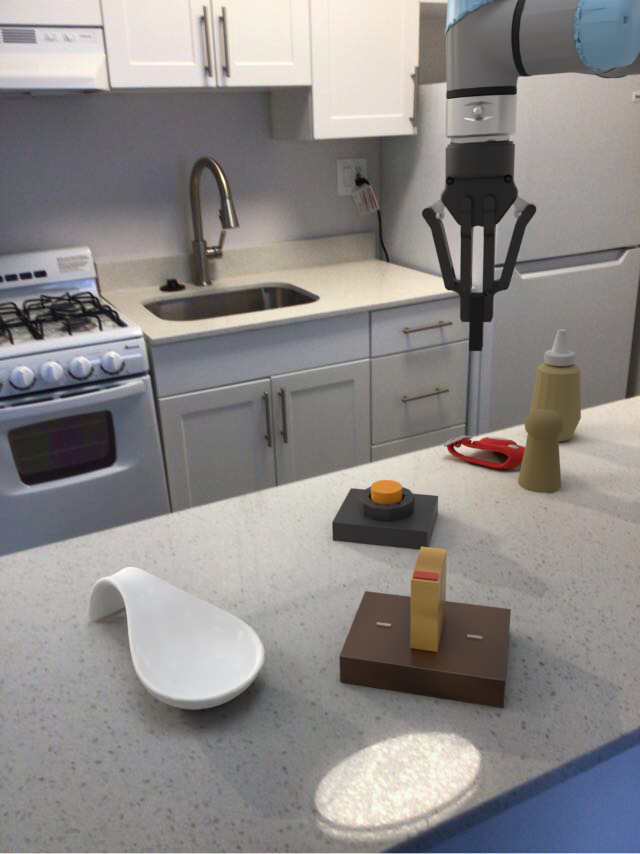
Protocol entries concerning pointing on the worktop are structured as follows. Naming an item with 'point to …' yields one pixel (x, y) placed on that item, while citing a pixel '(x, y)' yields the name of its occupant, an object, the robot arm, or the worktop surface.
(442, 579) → the thumbturn
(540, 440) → the tan pawn
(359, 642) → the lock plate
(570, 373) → the squeeze bottle
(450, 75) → the robot arm
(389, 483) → the alarm button
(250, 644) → the spoon rest
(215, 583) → the worktop surface
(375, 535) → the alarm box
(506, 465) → the red looped piece
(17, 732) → the worktop surface
